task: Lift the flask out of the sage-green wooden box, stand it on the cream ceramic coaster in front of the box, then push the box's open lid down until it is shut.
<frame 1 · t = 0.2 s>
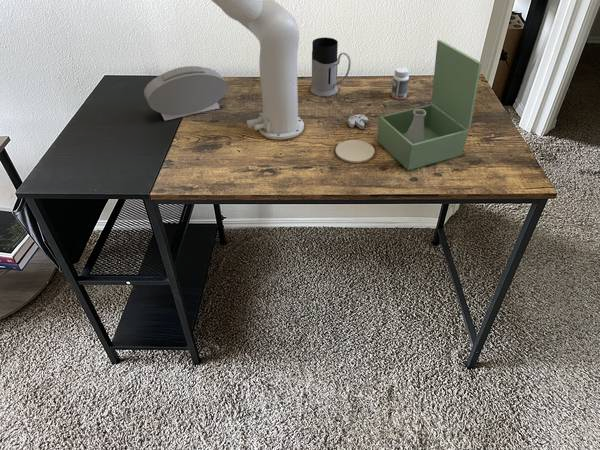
box lid: (453, 84, 109), point 16 cm above the table, hinge at 84.0°
coaster: (354, 152, 117), on the table
glass holder: (330, 93, 142), on the table
game controller: (351, 120, 129), on the table
pill bottle: (398, 96, 140), on the table
flask: (413, 147, 117), resting in box
box: (418, 147, 118), on the table
alarm clock: (190, 111, 135), on the table
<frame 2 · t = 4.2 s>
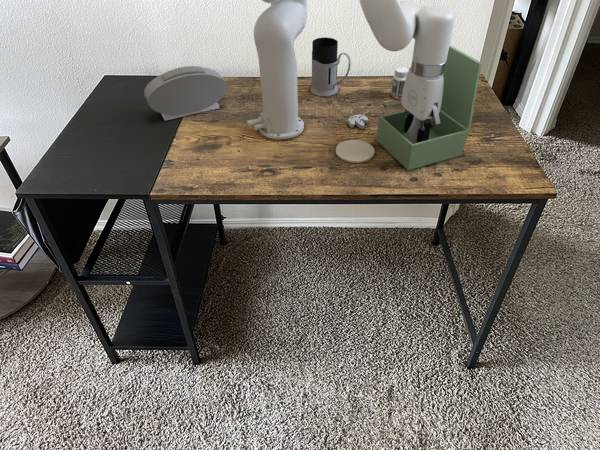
hand: (415, 135, 115), 4 cm above the table, tool pointing down, fingers closed on flask, 4 cm apart
flask: (413, 147, 117), resting in box, touching gripper
everything else where it was.
when the fingers open (4 cm above the table, at t = 10.9 s): flask stays where it is, resting on coaster.
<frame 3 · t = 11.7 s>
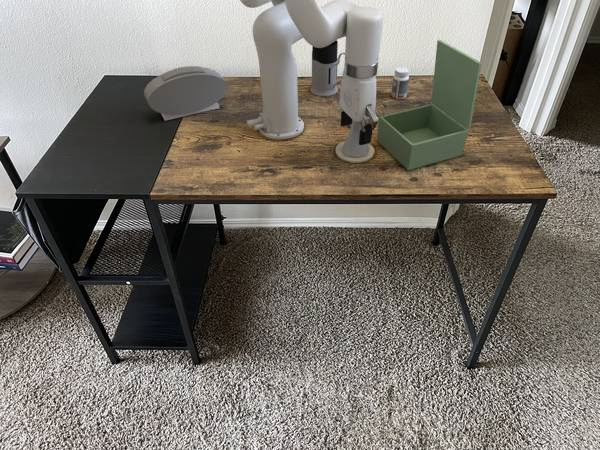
hand: (355, 133, 114), 5 cm above the table, tool pointing down, fingers open, 9 cm apart
flask: (355, 150, 117), resting on coaster
everything else where it was.
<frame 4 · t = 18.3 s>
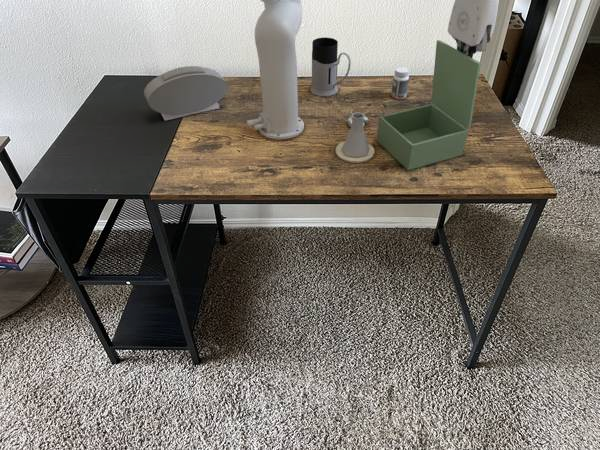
hand: (461, 69, 107), 19 cm above the table, tool pointing down, fingers closed
box lid: (453, 84, 109), point 16 cm above the table, hinge at 83.3°, touching gripper
everything else where it was.
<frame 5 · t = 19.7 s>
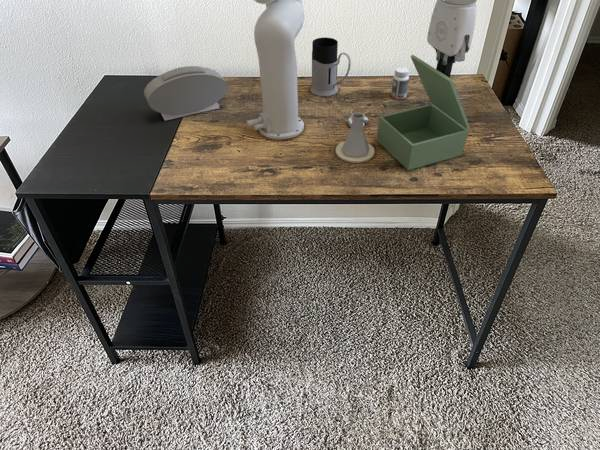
hand: (441, 78, 107), 18 cm above the table, tool pointing down, fingers closed
box lid: (440, 92, 109), point 15 cm above the table, hinge at 57.7°, touching gripper
everything else where it was.
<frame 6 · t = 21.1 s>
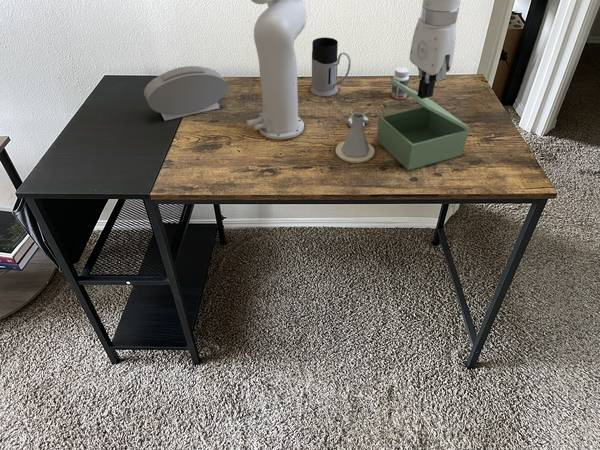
hand: (424, 96, 108), 15 cm above the table, tool pointing down, fingers closed
box lid: (429, 104, 110), point 12 cm above the table, hinge at 32.9°, touching gripper
everything else where it was.
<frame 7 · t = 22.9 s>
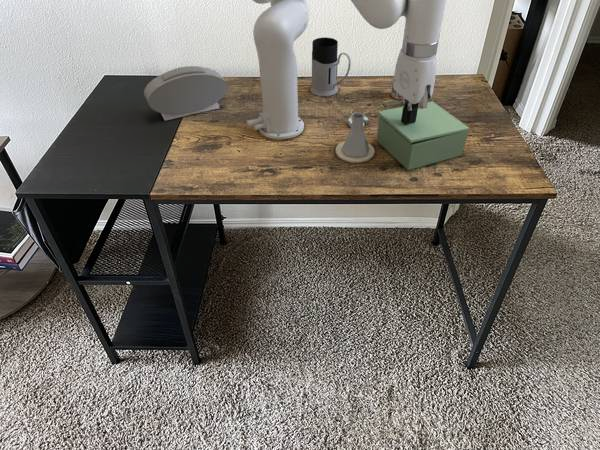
hand: (408, 122, 111), 9 cm above the table, tool pointing down, fingers closed
box lid: (422, 120, 113), point 8 cm above the table, hinge at 2.8°, touching gripper
everything else where it was.
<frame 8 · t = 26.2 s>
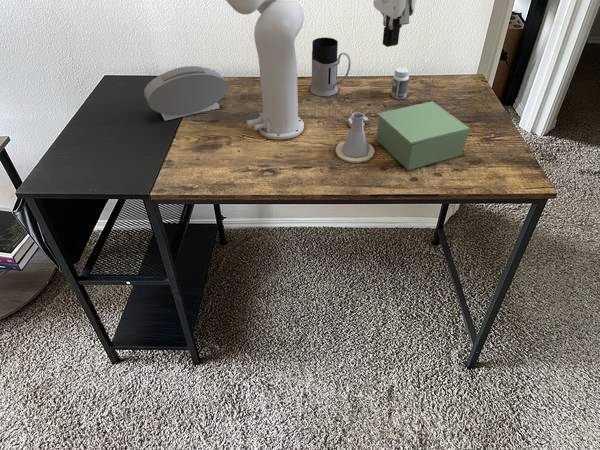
hand: (390, 44, 105), 25 cm above the table, tool pointing down, fingers closed
box lid: (422, 121, 113), point 8 cm above the table, hinge at 1.0°
everything else where it was.
at the end: flask 0.1 cm off-centre on the coaster, point 0.4 cm above the coaster's base; flask tilted 0°; box lid at +1° (first picture: +84°) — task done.
